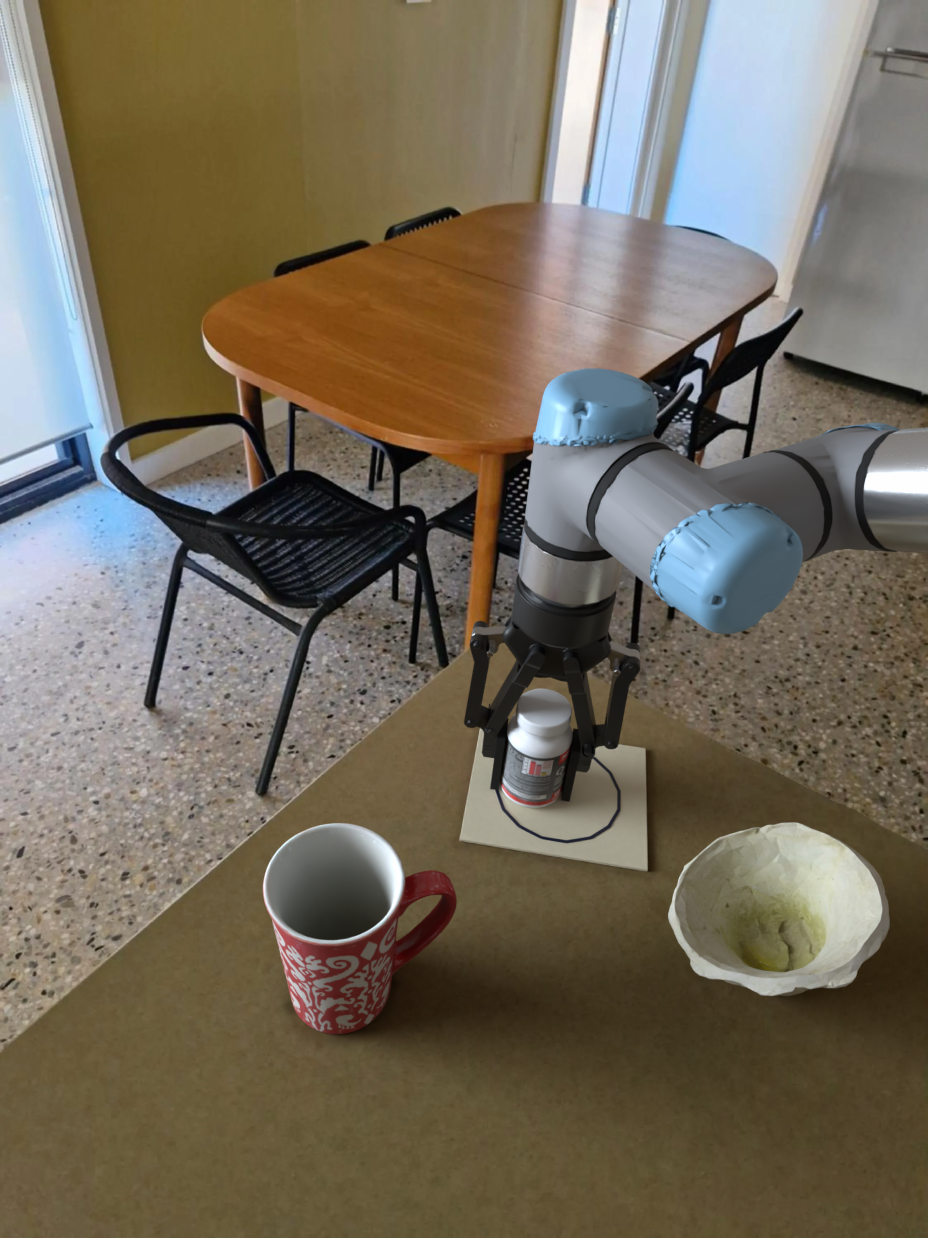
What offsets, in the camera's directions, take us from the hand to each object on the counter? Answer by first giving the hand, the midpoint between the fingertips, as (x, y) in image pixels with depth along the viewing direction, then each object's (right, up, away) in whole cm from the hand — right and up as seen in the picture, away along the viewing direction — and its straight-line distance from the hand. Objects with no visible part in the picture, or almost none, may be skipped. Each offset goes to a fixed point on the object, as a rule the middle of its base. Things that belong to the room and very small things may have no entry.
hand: (531, 783), depth 80 cm
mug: (-13, -12, -15) cm, 24 cm away
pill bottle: (0, 0, 0) cm, 0 cm away
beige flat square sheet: (+2, -1, 0) cm, 3 cm away
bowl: (+16, -11, -11) cm, 23 cm away
